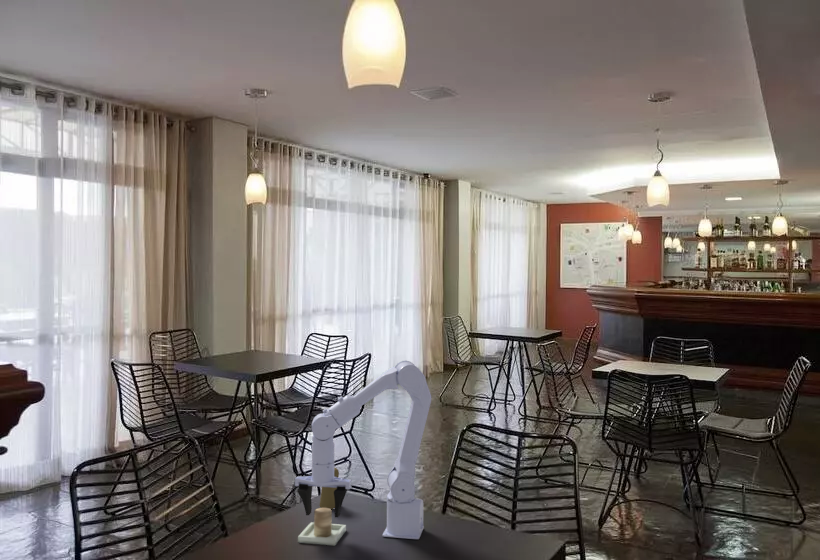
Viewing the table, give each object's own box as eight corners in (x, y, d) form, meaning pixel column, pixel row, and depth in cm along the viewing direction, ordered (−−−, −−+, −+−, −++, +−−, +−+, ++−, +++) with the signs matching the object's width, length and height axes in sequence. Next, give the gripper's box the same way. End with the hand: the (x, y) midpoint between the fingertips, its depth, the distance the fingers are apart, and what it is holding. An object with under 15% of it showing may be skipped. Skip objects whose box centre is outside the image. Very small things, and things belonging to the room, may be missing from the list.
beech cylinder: (333, 531, 163) (334, 508, 163) (328, 538, 159) (328, 514, 159) (317, 530, 164) (317, 507, 164) (311, 536, 160) (311, 513, 160)
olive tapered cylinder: (338, 509, 181) (338, 471, 181) (317, 509, 181) (317, 470, 181) (341, 502, 187) (341, 465, 187) (321, 502, 187) (321, 464, 187)
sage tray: (346, 530, 165) (346, 524, 165) (335, 545, 156) (335, 539, 156) (311, 527, 167) (311, 522, 167) (297, 542, 158) (298, 536, 158)
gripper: (354, 459, 164) (354, 511, 164) (301, 456, 167) (301, 507, 167) (347, 466, 157) (347, 521, 157) (291, 463, 160) (291, 517, 160)
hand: (322, 515), depth 162 cm, fingers open, 7 cm apart
